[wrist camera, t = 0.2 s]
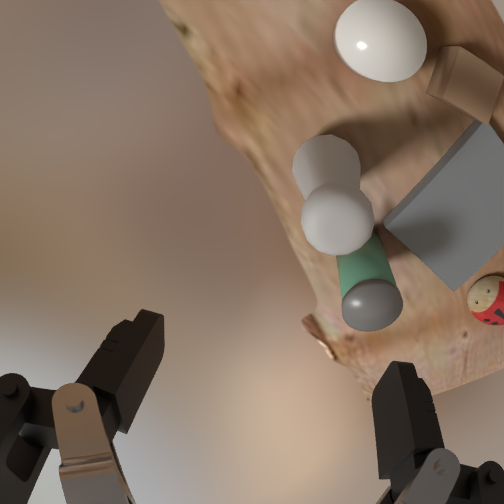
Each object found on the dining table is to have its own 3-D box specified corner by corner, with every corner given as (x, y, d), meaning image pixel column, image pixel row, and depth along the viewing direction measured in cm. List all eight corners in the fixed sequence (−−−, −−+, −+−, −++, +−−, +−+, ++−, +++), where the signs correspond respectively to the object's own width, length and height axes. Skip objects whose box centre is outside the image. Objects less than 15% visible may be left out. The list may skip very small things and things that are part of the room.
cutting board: (478, 115, 22) (486, 119, 21) (532, 200, 25) (539, 206, 24) (382, 220, 30) (385, 227, 29) (449, 283, 33) (453, 291, 32)
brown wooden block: (440, 46, 20) (460, 46, 17) (482, 72, 20) (504, 76, 17) (425, 92, 23) (442, 98, 20) (467, 116, 23) (487, 125, 20)
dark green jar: (358, 217, 31) (375, 274, 23) (392, 246, 32) (414, 305, 24) (324, 252, 33) (329, 313, 26) (358, 277, 34) (370, 339, 27)
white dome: (362, -10, 19) (372, -20, 15) (424, 43, 20) (442, 41, 17) (316, 44, 22) (318, 40, 19) (379, 95, 24) (392, 100, 21)
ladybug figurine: (487, 263, 31) (498, 281, 28) (522, 289, 32) (532, 306, 29) (454, 301, 35) (462, 320, 32) (492, 322, 36) (500, 340, 33)
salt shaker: (316, 116, 26) (329, 157, 15) (368, 152, 27) (411, 217, 16) (281, 168, 29) (268, 241, 18) (331, 200, 30) (347, 287, 19)
